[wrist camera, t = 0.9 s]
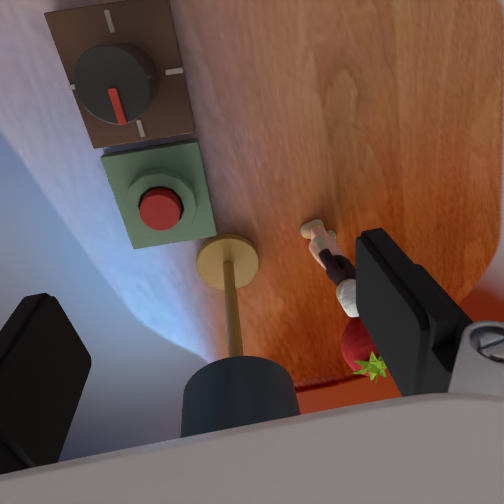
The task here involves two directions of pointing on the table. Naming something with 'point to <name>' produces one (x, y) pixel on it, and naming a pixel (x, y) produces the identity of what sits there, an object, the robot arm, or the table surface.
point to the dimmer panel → (146, 39)
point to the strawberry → (361, 350)
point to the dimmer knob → (115, 82)
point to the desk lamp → (234, 355)
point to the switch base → (162, 176)
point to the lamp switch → (160, 209)
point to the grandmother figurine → (333, 263)
